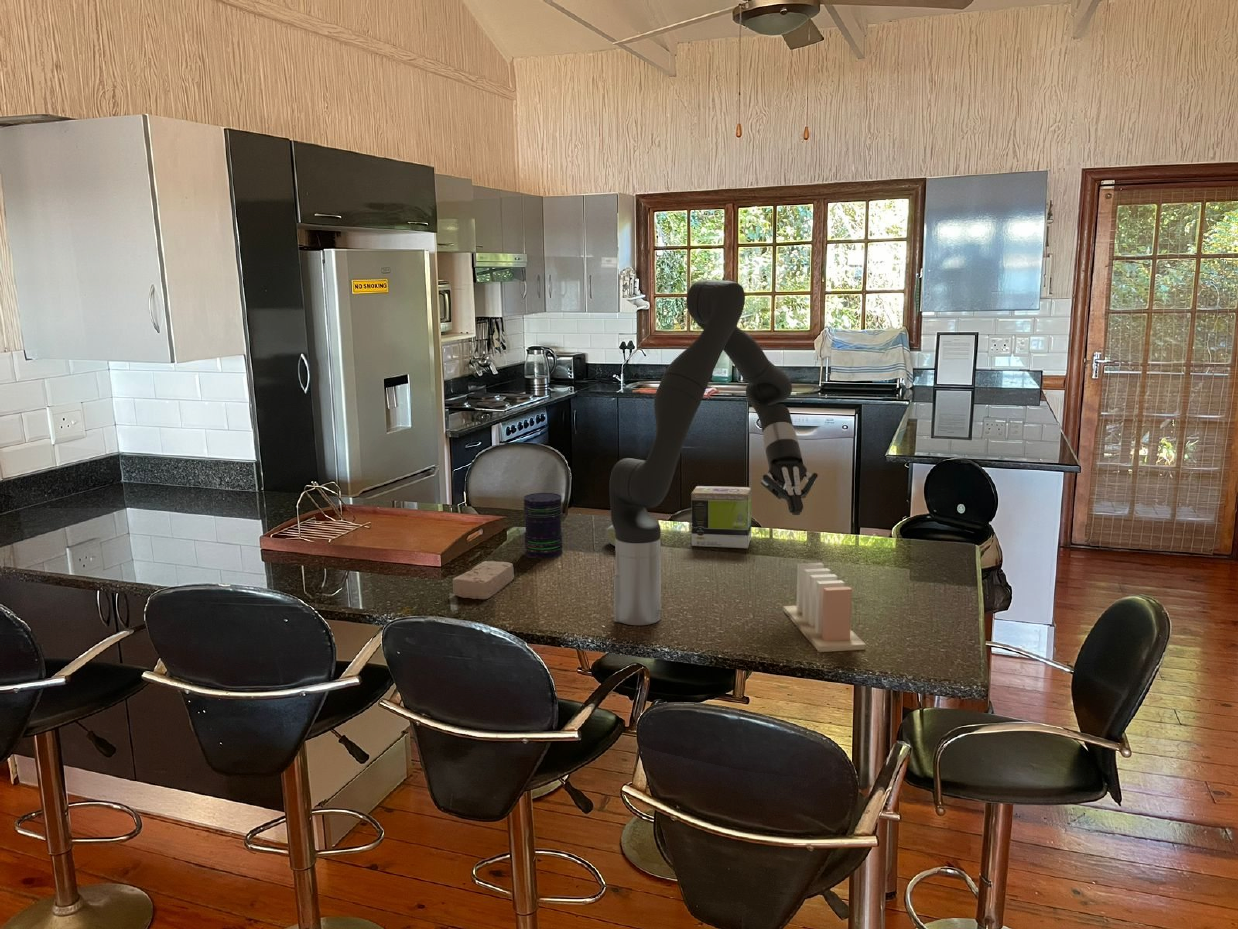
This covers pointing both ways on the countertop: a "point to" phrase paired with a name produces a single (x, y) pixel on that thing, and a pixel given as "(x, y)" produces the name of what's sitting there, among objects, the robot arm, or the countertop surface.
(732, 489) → the tea box
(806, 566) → the tile
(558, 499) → the storage jar
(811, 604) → the tile
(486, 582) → the brick
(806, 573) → the tile
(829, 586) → the tile
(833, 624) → the tile
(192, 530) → the countertop surface
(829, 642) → the domino board
